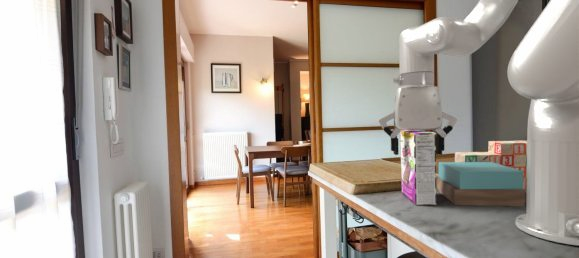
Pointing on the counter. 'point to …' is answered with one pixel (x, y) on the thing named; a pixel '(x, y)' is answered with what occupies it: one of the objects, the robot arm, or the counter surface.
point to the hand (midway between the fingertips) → (417, 154)
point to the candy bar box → (418, 166)
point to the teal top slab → (480, 175)
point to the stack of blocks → (500, 156)
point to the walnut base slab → (481, 195)
